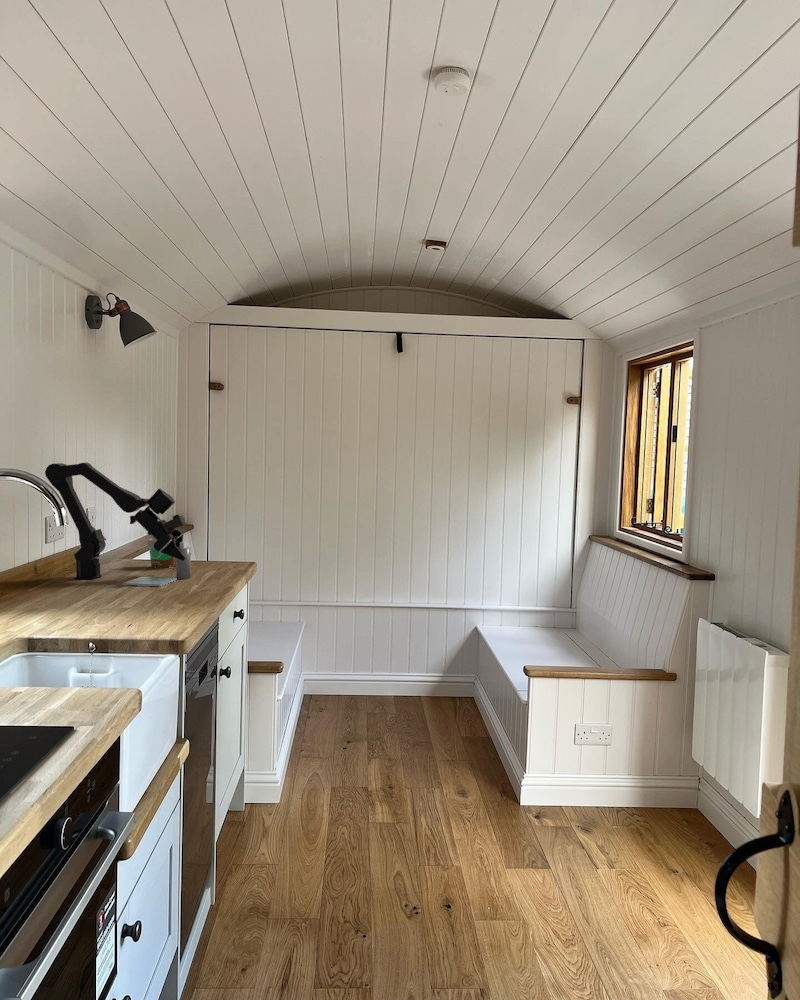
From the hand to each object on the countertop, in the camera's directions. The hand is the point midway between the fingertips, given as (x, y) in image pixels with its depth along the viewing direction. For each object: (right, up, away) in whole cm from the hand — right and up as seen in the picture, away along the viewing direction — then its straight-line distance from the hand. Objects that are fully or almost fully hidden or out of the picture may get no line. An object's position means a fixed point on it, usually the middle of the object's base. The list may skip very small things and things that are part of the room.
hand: (187, 557), depth 256 cm
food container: (-15, -5, +21) cm, 26 cm away
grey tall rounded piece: (-1, -7, 0) cm, 7 cm away
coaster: (-9, -7, -10) cm, 15 cm away
